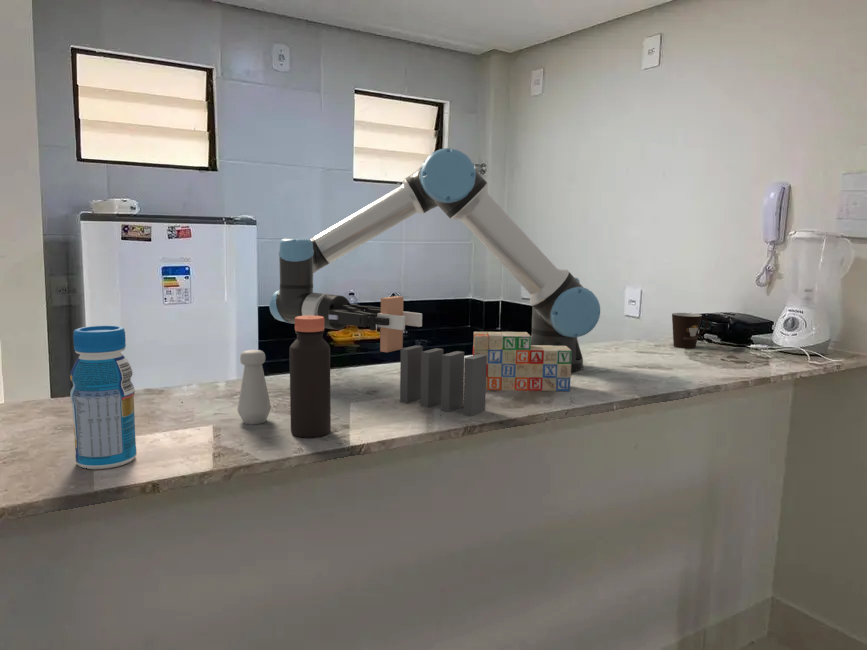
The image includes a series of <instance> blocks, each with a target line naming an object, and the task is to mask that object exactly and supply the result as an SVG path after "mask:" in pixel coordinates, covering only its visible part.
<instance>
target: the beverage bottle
mask: <svg viewBox="0 0 867 650" xmlns="http://www.w3.org/2000/svg"><path fill="white" fill-rule="evenodd" d="M72 338H73V349H74V352H75V353H76V354H79V356H78V357H77V359H76V360H75V362H74V364H73V366H72V368H71V370H70V374H69V375H70V376H69V378H70V381H71V382H72V388H71V389H70V392H69V393H70V394H69V395H70V401H71V406H72V407H71V408H72V420H73V421H72V422H73V435H74V448H75V462H76V464H77V466H78V467H80V468H83V469H86V468H87V469H88V470H106V469H113V468H117V467H121V466H124V465H126V464H130V462H132V461H133V460H134V459H135V458H136V456H137V454H138V453H137V445H136V444H137V443H136V441H137V439H136V419H135V418H136V417H135V401H134V399H135V397H134V396H135V392H136V391H135V386H134V383H132V376H133V375H134V374H133V369H132V366H131V364H130V362H129V360H128V359H127V358H126V357H125V355H123V353H122V352H124V351H125V349H126V345H127V344H126V331H125V328H124V327H123V326H118V325H93V326H85V327H84V326H83V327H79V328H76V329H74V330H73V336H72Z"/></svg>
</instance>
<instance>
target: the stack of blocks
mask: <svg viewBox="0 0 867 650" xmlns="http://www.w3.org/2000/svg"><path fill="white" fill-rule="evenodd" d="M571 353H572V351H571V350H570V349H569V348H568V347H567V346H552V345H531V335H530V334H529V333H528V332H527V331H473V345H472V356H474V355H477V354H482V355H487V364H486V391H492V390H493V391H533V392H534V391H540V392H542V391H543V392H549V391H550V392H570V390H571V378H572V376H571V375H572V371H571Z"/></svg>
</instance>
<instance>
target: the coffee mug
mask: <svg viewBox="0 0 867 650" xmlns="http://www.w3.org/2000/svg"><path fill="white" fill-rule="evenodd" d="M671 319H672V339H673V340H672V342H673V347H674V348H677V349H684V350H685V349H688V350H690V349H691V350H692V349H696V347H697V342H698V338H699V336H701V335H702V334H703V333H704V332H705V331H706V330H707V329H708V328H709V325H710V324H709V322H710V321H709V320H708V319H707V318H705V317H703V315H702V314H699V313H692V312H690V313H689V312H673V313H671ZM702 321H705V323H706V326H705V327H704V329H703V330H702V331H700V327H701V323H702Z"/></svg>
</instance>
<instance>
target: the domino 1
mask: <svg viewBox="0 0 867 650" xmlns="http://www.w3.org/2000/svg"><path fill="white" fill-rule="evenodd" d="M423 351H424V346H422V345H413V346H408V347H403V348H402V349H400V368H399V369H400V373H399V374H400V376H399V377H400V378H399V381H400V382H399V402H400V403H402V404H410V403H412V402H416V401H418V400H419V401H420V400H421V352H423Z"/></svg>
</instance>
